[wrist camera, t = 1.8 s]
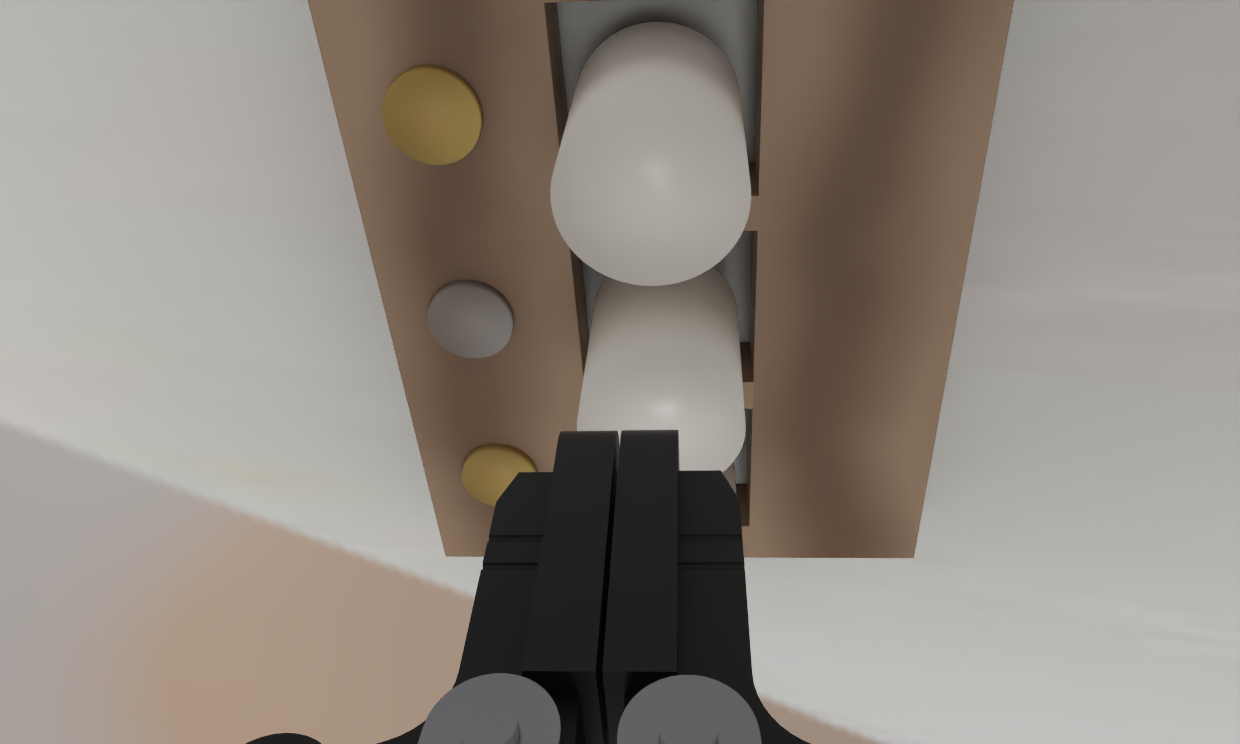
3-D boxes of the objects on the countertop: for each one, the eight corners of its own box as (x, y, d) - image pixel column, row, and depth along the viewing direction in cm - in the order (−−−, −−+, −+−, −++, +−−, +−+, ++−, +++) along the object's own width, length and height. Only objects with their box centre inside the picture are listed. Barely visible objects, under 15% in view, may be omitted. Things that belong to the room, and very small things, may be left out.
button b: (738, 249, 25) (747, 360, 21) (736, 370, 27) (744, 491, 24) (588, 253, 25) (569, 363, 21) (599, 372, 28) (583, 491, 24)
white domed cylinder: (741, 17, 22) (753, 98, 18) (739, 180, 24) (749, 283, 20) (567, 25, 22) (539, 106, 18) (582, 185, 24) (560, 288, 20)
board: (1005, -112, 22) (1036, -90, 20) (902, 515, 33) (915, 567, 32) (321, -75, 23) (287, -51, 21) (457, 515, 35) (443, 565, 33)
